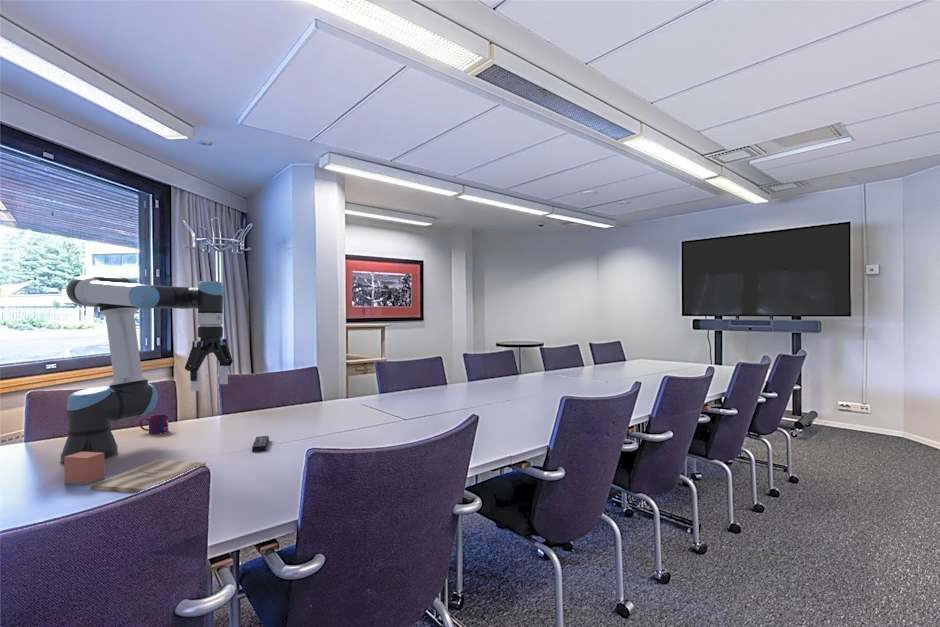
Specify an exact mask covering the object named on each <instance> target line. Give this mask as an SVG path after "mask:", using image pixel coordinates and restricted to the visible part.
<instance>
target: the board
mask: <svg viewBox="0 0 940 627" xmlns="http://www.w3.org/2000/svg"><path fill="white" fill-rule="evenodd" d="M206 464H207V463H206V462H203V461H202V462H200V461H186V460H185V461H182V460H181V461H179V460H166V459H165V460H163V459H156V460H154V461H151V462H149V463H146V464H143V465H140V466H138V467H136V468H132V469H130V470H127V471H125V472H122V473H119V474H117V475H114V476H112V477H109V478H106V479H104V480H101V481H98V482H96V483H93V484H90V490H95V491H107V492H120V493H122V492H124V493H137V492H140V491H142V490H145V489H147V488H150V487H152V486H154V485H157V484H160V483H162V482H164V481H167V480H169V479H172V478H174V477H176V476H178V475H180V474H182V473H185V472H187V471H189V470H191V469H193V468H196V467H198V466H202V465H206ZM206 466H207V465H206ZM137 494H138V493H137Z"/></svg>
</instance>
